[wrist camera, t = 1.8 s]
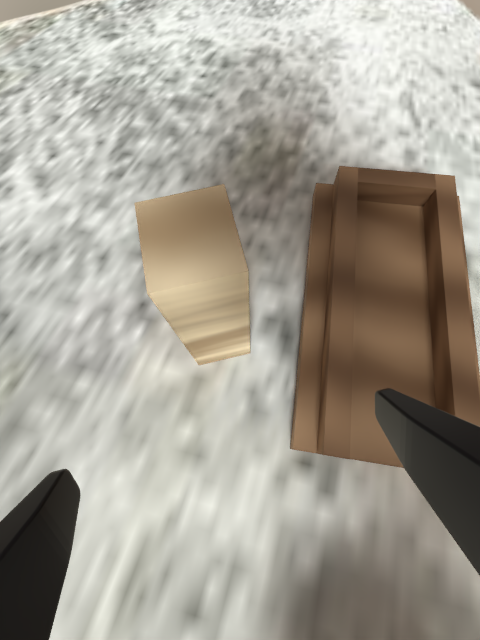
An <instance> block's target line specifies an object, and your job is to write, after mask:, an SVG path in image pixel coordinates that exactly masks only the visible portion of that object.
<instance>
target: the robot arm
mask: <svg viewBox="0 0 480 640" xmlns="http://www.w3.org/2000/svg"><path fill="white" fill-rule="evenodd" d="M375 416H376V419H377V421H378V423H379V425H380V426H381V428H382V430H383V432H384V433H385V435H386V437H387V439H388V440H389V442H390V444H391V446H392V448H393V449H394V451H395V453H396V455H397V456H398V458H399V460H400V462H401V463H402V465H403V467H404V468H405V470H406V471H407V473H408V474H409V476H410V477H411V479H412V480H413V482H414V483H415V484H416V486H417V487H418V489H419V490H420V492H421V493H422V494H423V496H424V497H425V499H426V500H427V501H428V503H429V504H430V506H431V507H432V509H433V510H434V511H435V513H436V514H437V516H438V517H439V518H440V520H441V521H442V523H443V524H444V526H445V527H446V528H447V530H448V531H449V533H450V534H451V535H452V537H453V538H454V540H455V541H456V543H457V544H458V545H459V547H460V548H461V550H462V551H463V552H464V554H465V555H466V557H467V558H468V560H469V561H470V562H471V564H472V565H473V567H474V568H475V569H476V571H477V572H478V574H479V575H480V427H479V426H477V425H475V424H472V423H470V422H468V421H465V420H463V419H461V418H458V417H456V416H454V415H451V414H449V413H447V412H444V411H442V410H440V409H437V408H435V407H433V406H431V405H428V404H426V403H424V402H421V401H419V400H417V399H414V398H412V397H410V396H407V395H405V394H403V393H400V392H398V391H396V390H393V389H391V388H386V389H382V390H378V391H376V392H375ZM79 501H80V489H79V486H78V485H77V483H76V481H75V480H74V478H73V476H72V475H71V473H70V471H69V470H67V469H62V470H58V471H54V472H51V473H50V474H49V475H47V476H46V477H45V478H44V479H43V480H42V481H41V482H40V483H39V484H38V485H37V486H36V487H35V488H34V489H33V490H32V491H31V492H30V493H29V494H28V495H27V496H26V497H25V498H24V499H23V500H22V501H21V502H20V503H19V504H18V505H17V506H16V507H15V508H14V509H13V510H12V511H11V512H10V513H9V514H8V515H7V516H6V517H5V518H4V519H3V520H2V521H1V522H0V640H49V637H50V633H51V629H52V626H53V622H54V618H55V614H56V610H57V606H58V603H59V599H60V595H61V591H62V587H63V583H64V580H65V576H66V572H67V568H68V564H69V560H70V555H71V550H72V545H73V539H74V532H75V526H76V520H77V514H78V508H79Z"/></svg>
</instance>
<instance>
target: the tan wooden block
mask: <svg viewBox="0 0 480 640" xmlns="http://www.w3.org/2000/svg"><path fill="white" fill-rule="evenodd" d="M135 209H136V217H137V224H138V231H139V238H140V245H141V252H142V259H143V266H144V274H145V281H146V288H147V294H148V295H149V297H150V298H151V299H152V301H153V302H154V304H155V305H156V306H157V308H158V309H159V311H160V312H161V313H162V315H163V316H164V317H165V319H166V320H167V322H168V323H169V324H170V326H171V327H172V329H173V330H174V331H175V333H176V334H177V336H178V337H179V338H180V340H181V341H182V342H183V344H184V345H185V347H186V348H187V349H188V351H189V352H190V354H191V355H192V356H193V358H194V359H195V361H196V362H197V363H198V365H202V364H207V363H211V362H215V361H219V360H223V359H228V358H232V357H236V356H240V355H244V354H249V353H250V320H249V272H248V267H247V264H246V260H245V257H244V253H243V249H242V246H241V242H240V239H239V235H238V232H237V228H236V224H235V221H234V217H233V214H232V210H231V207H230V203H229V199H228V196H227V192H226V189H225V185H224V184H222V185H218V186H213V187H208V188H203V189H199V190H194V191H189V192H184V193H179V194H175V195H170V196H165V197H160V198H156V199H151V200H146V201H141V202H137V203H135Z"/></svg>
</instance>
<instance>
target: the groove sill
mask: <svg viewBox="0 0 480 640" xmlns="http://www.w3.org/2000/svg"><path fill="white" fill-rule="evenodd" d="M386 388H391V389H393V390H396V391H398V392H400V393H403V394H405V395H407V396H410V397H412V398H414V399H417V400H419V401H421V402H424V403H426V404H428V405H431V406H433V407H435V408H437V409H440V410H442V411H444V412H447V413H449V414H451V415H454V416H456V417H458V418H461V419H463V420H465V421H468V422H470V423H472V424H475V425H477V426H479V427H480V375H479V366H478V358H477V349H476V340H475V331H474V323H473V314H472V305H471V297H470V288H469V279H468V271H467V262H466V253H465V244H464V236H463V227H462V218H461V210H460V201H459V196H457V192H456V183H455V176H451V175H439V174H427V173H415V172H404V171H392V170H380V169H369V168H357V167H345V166H339V169H338V172H337V175H336V179H335V182H334V185H332V184H321V183H316V186H315V190H314V194H313V204H312V215H311V226H310V237H309V248H308V259H307V270H306V281H305V292H304V303H303V314H302V325H301V336H300V347H299V358H298V369H297V380H296V391H295V402H294V413H293V424H292V435H291V446H290V449H294V450H300V451H306V452H312V453H318V454H322V455H328V456H334V457H340V458H346V459H354V460H360V461H366V462H372V463H378V464H384V465H390V466H396V467H402V468H404V467H403V465H402V463H401V462H400V460H399V458H398V456H397V455H396V453H395V451H394V449H393V448H392V446H391V444H390V442H389V440H388V439H387V437H386V435H385V433H384V432H383V430H382V428H381V426H380V425H379V423H378V421H377V419H376V416H375V392H376V391H378V390H382V389H386Z"/></svg>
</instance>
